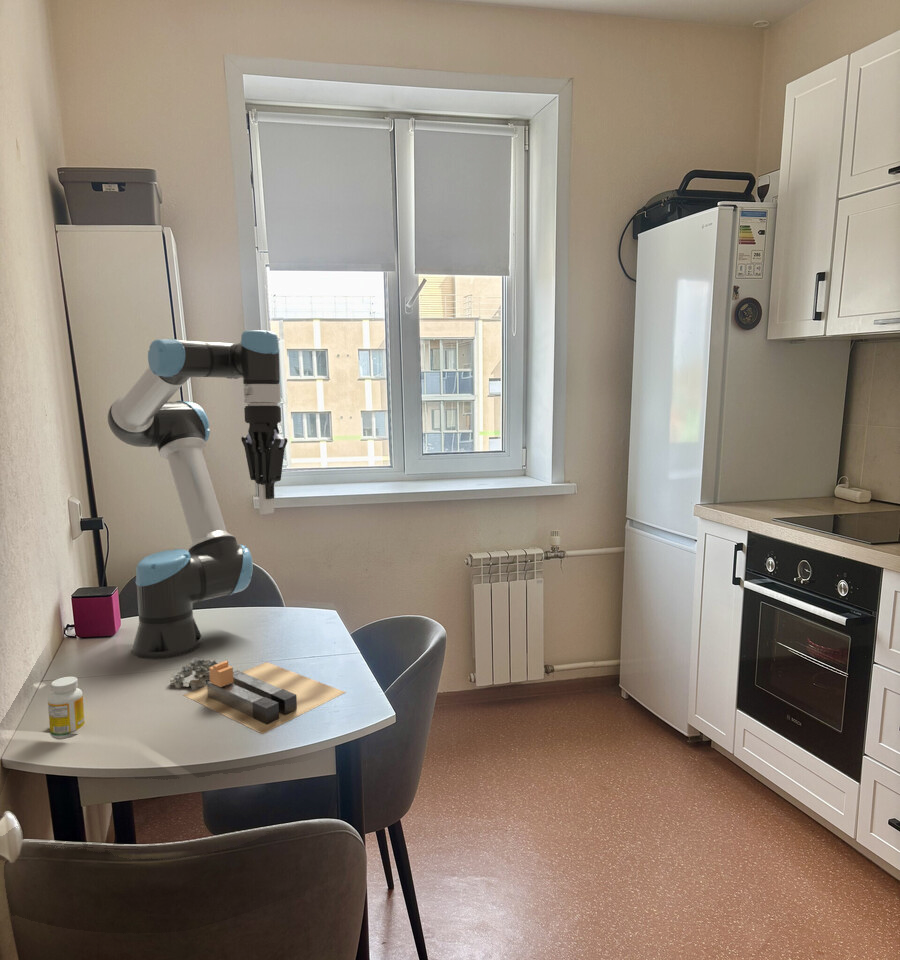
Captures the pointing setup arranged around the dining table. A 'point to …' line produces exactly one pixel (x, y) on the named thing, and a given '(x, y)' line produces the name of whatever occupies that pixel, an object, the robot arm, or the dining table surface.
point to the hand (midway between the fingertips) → (266, 513)
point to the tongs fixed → (245, 702)
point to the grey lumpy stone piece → (196, 664)
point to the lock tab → (221, 674)
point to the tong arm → (267, 691)
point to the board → (304, 688)
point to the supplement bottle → (65, 708)
